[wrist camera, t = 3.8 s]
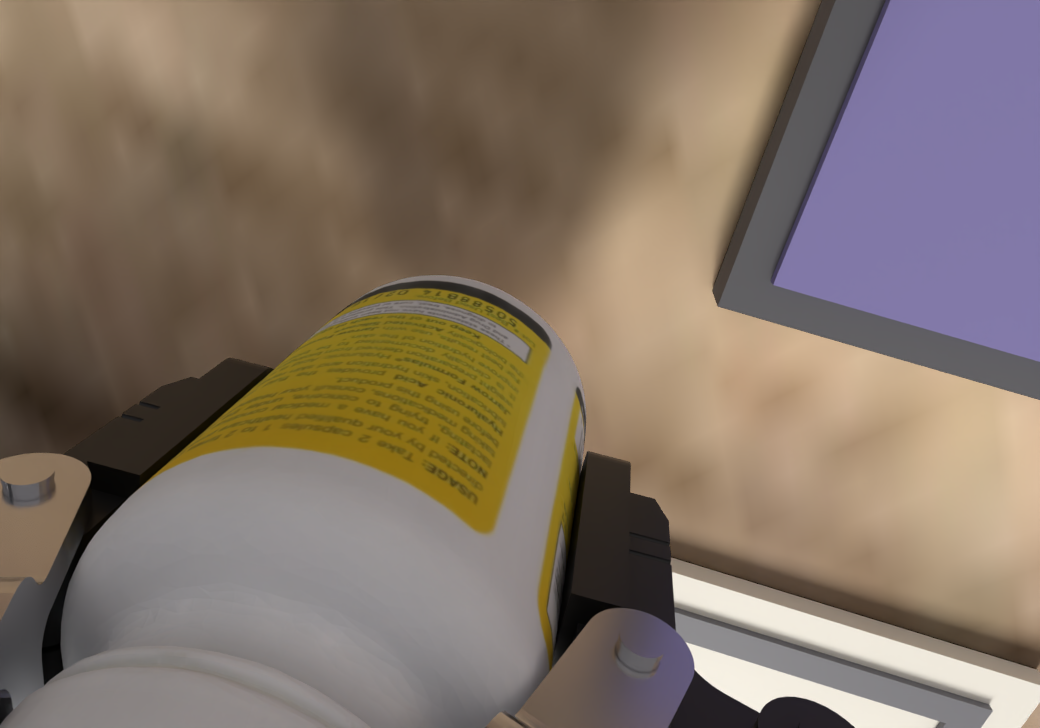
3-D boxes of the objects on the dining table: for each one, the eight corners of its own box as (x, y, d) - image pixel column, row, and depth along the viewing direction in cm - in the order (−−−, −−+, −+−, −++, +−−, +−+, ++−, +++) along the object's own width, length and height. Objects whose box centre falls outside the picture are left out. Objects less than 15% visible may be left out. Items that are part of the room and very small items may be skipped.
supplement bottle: (266, 338, 14) (-359, 811, 5) (506, 218, 13) (189, 607, 4) (404, 550, 16) (101, 1196, 7) (635, 467, 14) (633, 1174, 5)
